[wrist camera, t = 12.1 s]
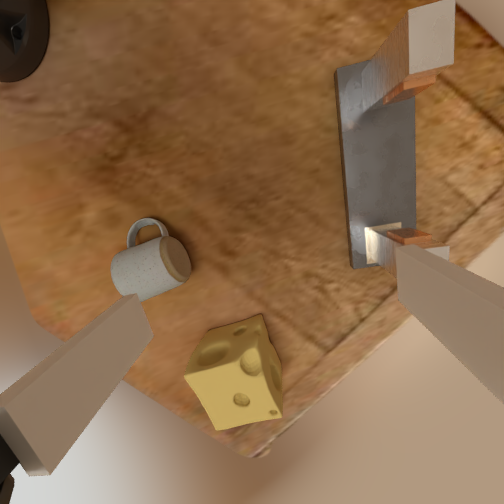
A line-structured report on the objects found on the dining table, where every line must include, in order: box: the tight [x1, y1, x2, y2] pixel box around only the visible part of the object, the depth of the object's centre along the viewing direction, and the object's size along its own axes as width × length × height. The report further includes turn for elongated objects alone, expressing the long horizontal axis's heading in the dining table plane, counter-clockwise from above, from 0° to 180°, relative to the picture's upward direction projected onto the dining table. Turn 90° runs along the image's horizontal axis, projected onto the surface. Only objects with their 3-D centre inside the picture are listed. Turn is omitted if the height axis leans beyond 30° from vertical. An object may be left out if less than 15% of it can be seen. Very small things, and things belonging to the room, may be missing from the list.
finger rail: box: [334, 0, 455, 269], centre depth 25 cm, size 24×8×12 cm, turn 11°
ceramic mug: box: [111, 218, 191, 302], centre depth 33 cm, size 11×8×8 cm
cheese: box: [184, 314, 283, 430], centre depth 35 cm, size 10×11×10 cm
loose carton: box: [371, 226, 449, 278], centre depth 26 cm, size 5×3×10 cm, turn 10°
